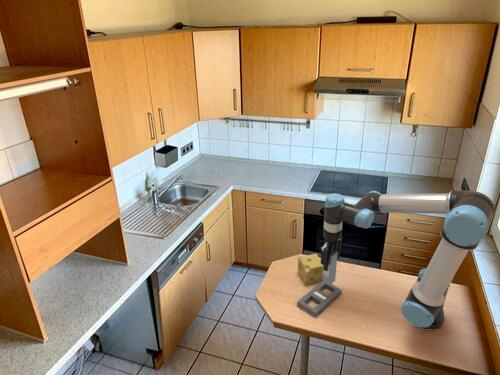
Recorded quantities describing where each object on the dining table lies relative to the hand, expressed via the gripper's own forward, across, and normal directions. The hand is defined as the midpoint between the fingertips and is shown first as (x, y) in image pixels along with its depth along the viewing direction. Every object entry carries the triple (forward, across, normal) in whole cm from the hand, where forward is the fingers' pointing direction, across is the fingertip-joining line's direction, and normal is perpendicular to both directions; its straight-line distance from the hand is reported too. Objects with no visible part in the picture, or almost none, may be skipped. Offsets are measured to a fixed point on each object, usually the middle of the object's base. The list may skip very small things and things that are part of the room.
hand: (329, 272), depth 169 cm
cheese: (+13, -4, -13) cm, 19 cm away
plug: (+5, 0, 0) cm, 5 cm away
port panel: (+13, +6, -1) cm, 14 cm away
